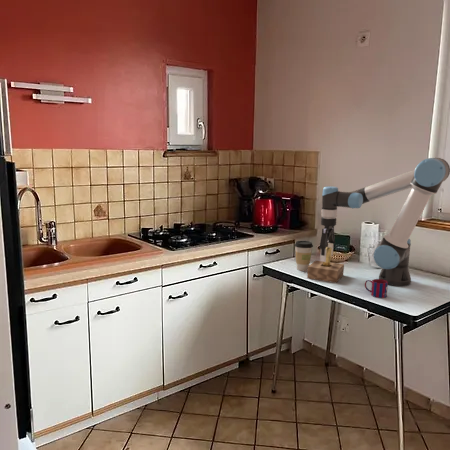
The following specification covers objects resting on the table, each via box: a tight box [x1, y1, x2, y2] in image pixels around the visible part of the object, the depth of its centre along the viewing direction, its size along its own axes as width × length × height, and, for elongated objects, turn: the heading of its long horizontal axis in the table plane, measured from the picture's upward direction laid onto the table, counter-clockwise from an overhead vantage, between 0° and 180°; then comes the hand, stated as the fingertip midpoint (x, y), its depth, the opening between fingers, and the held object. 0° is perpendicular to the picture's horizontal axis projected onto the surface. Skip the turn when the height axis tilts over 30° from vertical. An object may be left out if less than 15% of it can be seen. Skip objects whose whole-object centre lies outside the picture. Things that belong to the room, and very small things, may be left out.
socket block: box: [306, 259, 345, 283], centre depth 234 cm, size 15×14×6 cm
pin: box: [323, 246, 332, 267], centre depth 234 cm, size 4×4×14 cm
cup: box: [364, 278, 389, 299], centre depth 208 cm, size 7×10×7 cm
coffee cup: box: [294, 240, 314, 272], centre depth 246 cm, size 10×10×15 cm
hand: (326, 258), depth 233 cm, fingers open, 13 cm apart
